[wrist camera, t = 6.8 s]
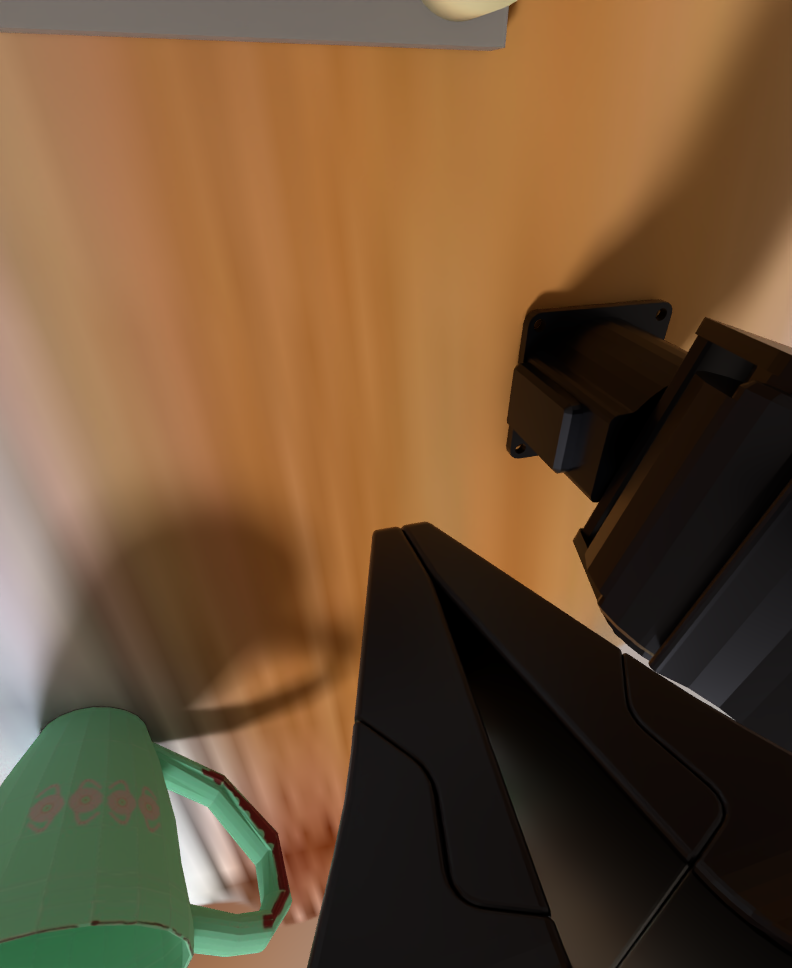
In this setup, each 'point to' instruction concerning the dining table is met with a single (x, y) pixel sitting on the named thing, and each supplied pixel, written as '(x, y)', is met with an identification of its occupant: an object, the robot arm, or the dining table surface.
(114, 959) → the mug
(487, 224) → the dining table surface
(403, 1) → the stand
